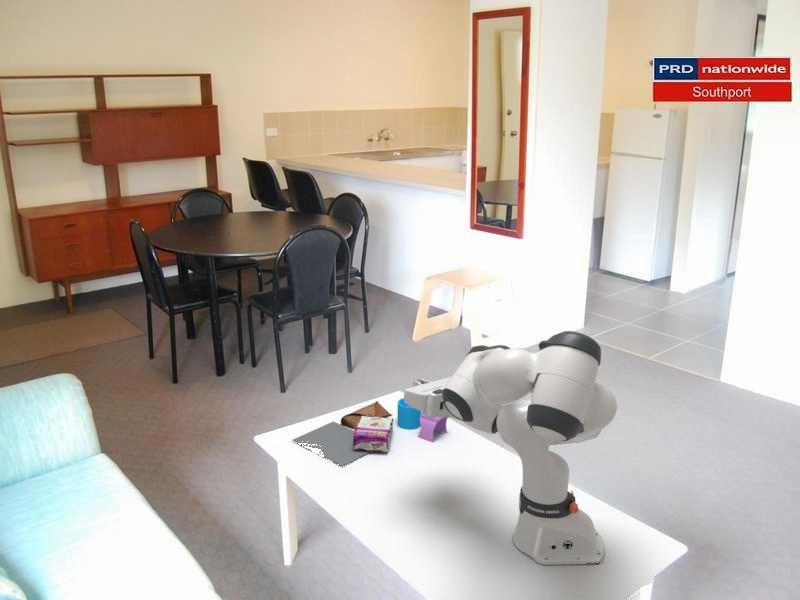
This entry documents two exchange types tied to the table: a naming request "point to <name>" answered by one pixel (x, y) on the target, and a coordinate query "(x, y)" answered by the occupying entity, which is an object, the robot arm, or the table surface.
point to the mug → (408, 416)
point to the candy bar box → (373, 433)
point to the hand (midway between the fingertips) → (416, 382)
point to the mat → (334, 443)
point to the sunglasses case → (370, 410)
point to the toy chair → (431, 426)
